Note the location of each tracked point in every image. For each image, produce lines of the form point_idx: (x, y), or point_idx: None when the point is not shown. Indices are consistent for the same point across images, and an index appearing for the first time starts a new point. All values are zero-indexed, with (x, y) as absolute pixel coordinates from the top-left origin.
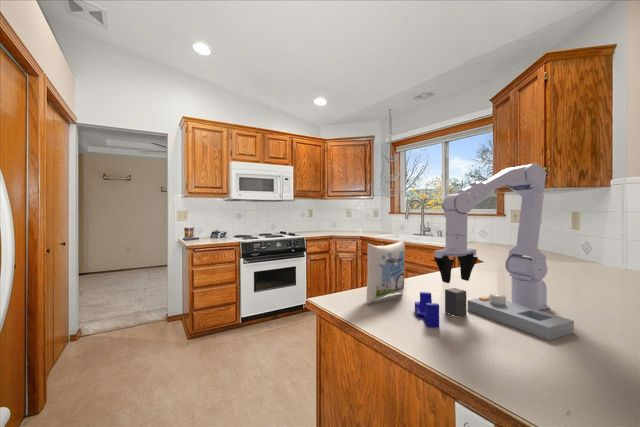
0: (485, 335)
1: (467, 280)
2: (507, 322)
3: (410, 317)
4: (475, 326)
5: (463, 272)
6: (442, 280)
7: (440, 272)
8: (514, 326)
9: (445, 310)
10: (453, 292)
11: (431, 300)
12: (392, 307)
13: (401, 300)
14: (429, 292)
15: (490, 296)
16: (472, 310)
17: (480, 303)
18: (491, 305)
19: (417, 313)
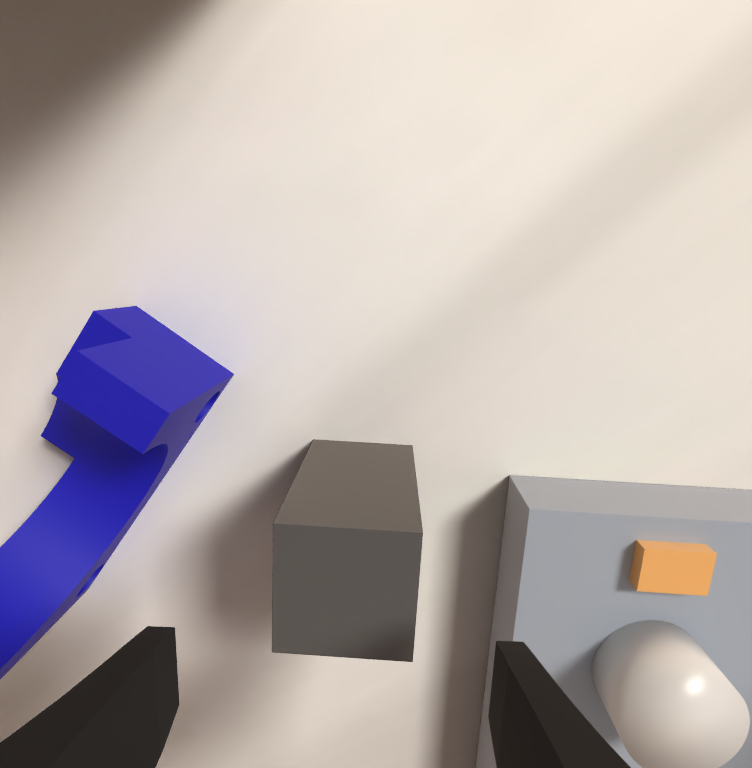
0: (241, 747)
1: (490, 723)
2: (481, 740)
3: (22, 394)
4: (295, 664)
5: (528, 755)
6: (137, 639)
7: (46, 714)
8: (476, 765)
9: (311, 448)
10: (274, 621)
11: (163, 443)
12: (10, 157)
13: (198, 25)
14: (157, 413)
15: (628, 689)
16: (506, 519)
17: (538, 606)
18: (565, 667)
19: (48, 425)
